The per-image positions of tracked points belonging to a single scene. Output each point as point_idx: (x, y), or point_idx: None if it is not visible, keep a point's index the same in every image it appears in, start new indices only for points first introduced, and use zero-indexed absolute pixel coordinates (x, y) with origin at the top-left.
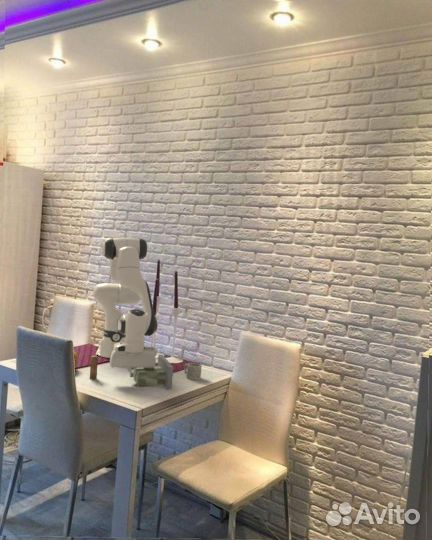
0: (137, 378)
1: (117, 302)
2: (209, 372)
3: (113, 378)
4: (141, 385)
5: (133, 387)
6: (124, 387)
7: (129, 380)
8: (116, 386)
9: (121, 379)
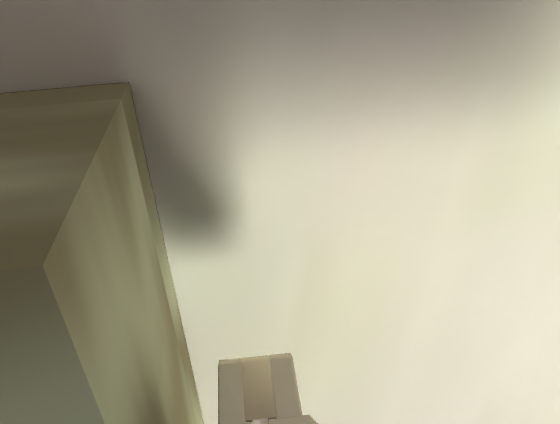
0: (128, 250)
1: None
2: None
3: (465, 413)
4: (39, 98)
5: (222, 22)
6: (414, 18)
7: None
8: (547, 80)
9: (373, 394)
